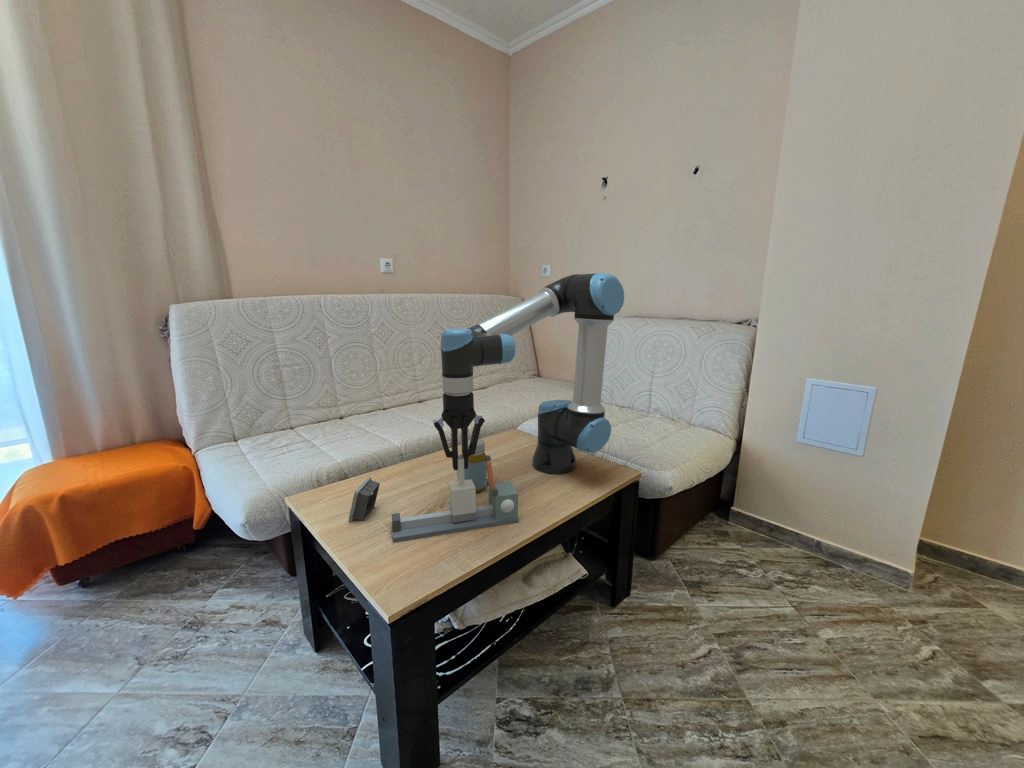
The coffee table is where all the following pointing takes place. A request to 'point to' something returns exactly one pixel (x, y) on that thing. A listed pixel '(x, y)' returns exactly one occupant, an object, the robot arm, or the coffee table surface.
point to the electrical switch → (364, 499)
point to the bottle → (477, 467)
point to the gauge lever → (489, 471)
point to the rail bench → (441, 523)
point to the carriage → (462, 501)
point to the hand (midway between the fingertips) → (460, 480)
